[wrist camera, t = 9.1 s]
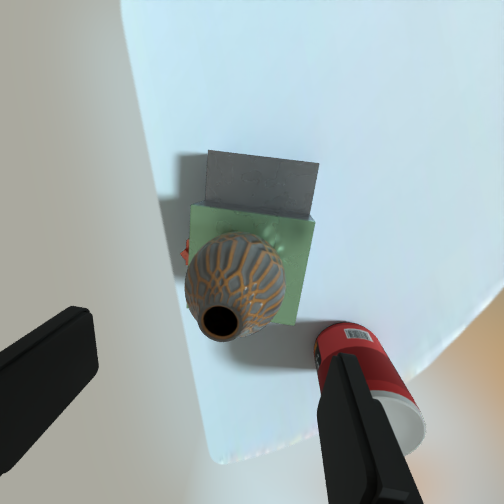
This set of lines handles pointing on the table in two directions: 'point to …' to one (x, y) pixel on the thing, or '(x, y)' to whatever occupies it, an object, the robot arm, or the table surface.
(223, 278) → the vase
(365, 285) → the table surface
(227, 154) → the stand
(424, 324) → the table surface
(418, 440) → the canned food
